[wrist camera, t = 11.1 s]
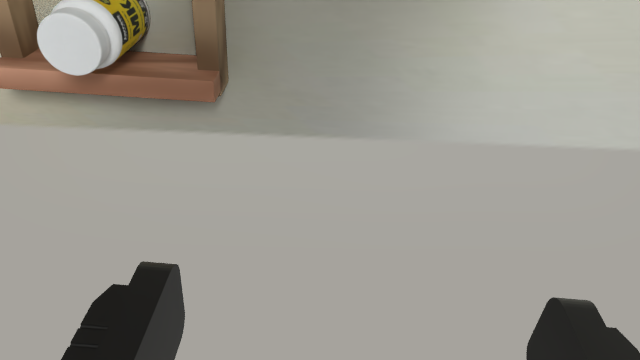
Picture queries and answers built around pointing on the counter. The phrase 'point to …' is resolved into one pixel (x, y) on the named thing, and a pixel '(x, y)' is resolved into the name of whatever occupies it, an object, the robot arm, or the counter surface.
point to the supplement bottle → (91, 33)
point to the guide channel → (119, 61)
